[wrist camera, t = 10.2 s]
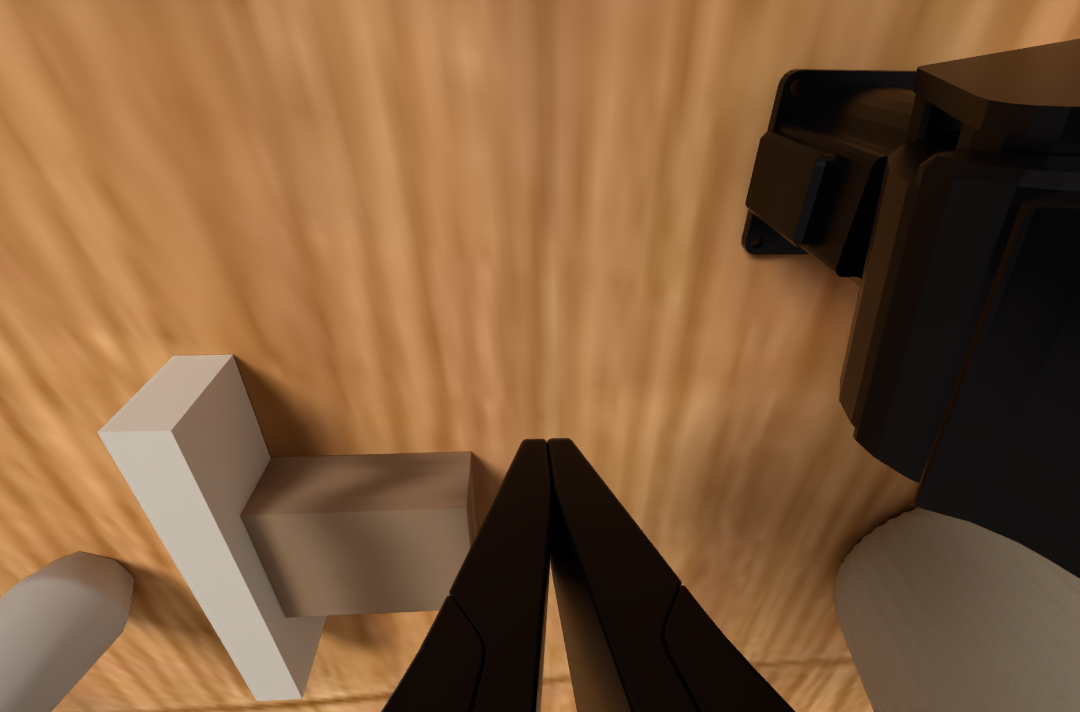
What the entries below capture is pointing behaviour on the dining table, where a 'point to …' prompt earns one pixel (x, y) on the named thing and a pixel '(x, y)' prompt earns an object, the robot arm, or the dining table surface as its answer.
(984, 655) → the canister
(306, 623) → the plank
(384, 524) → the walnut block
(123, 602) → the salt shaker
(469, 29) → the dining table surface
